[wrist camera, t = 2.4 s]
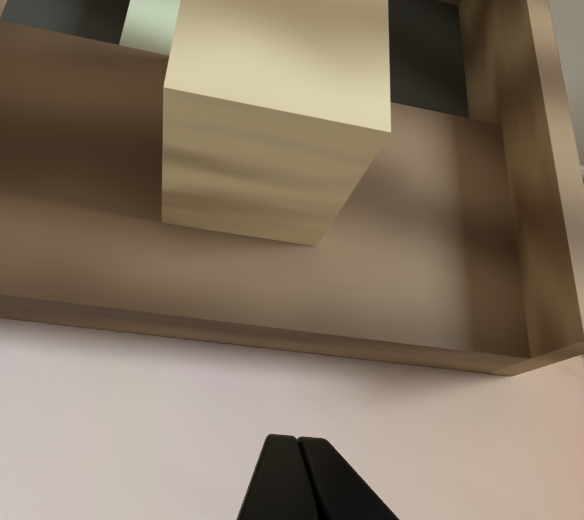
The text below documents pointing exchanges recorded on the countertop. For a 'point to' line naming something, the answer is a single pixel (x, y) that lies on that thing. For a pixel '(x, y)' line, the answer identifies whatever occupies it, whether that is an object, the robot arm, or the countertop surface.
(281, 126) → the maple block
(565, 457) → the countertop surface
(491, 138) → the trap box
